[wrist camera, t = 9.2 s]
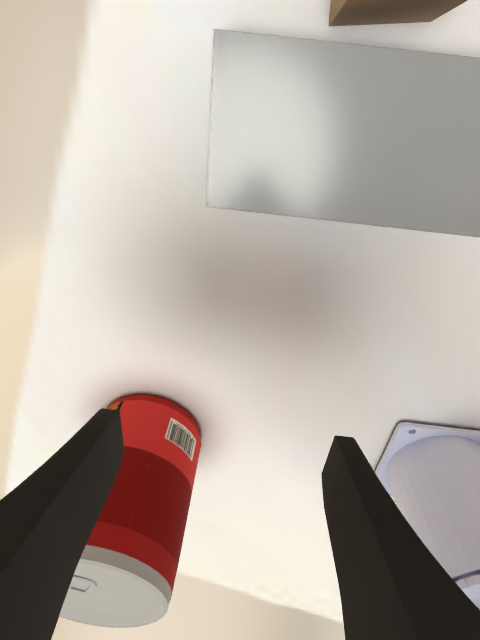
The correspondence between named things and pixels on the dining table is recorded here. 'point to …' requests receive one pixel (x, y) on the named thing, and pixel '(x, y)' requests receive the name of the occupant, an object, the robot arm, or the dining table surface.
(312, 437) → the dining table surface
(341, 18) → the walnut block
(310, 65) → the gray rectangular block
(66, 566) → the robot arm
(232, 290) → the dining table surface
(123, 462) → the canned food
